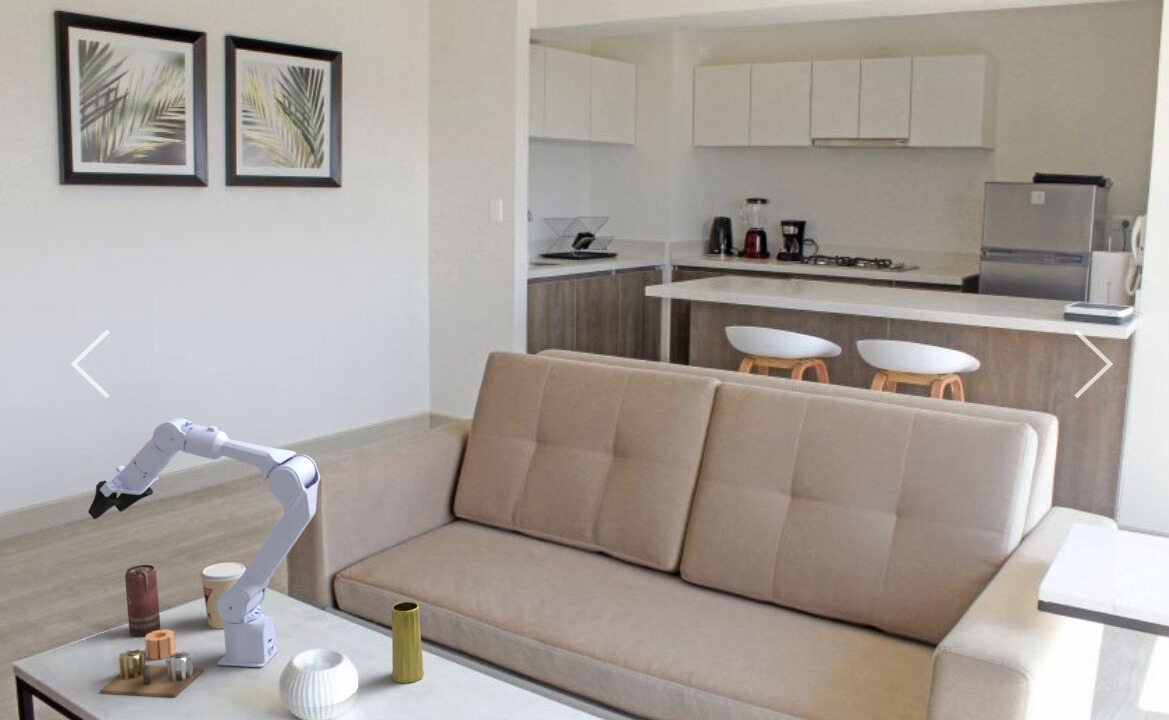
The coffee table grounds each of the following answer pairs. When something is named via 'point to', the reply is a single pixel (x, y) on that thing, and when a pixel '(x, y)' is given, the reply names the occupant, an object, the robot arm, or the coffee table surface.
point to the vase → (406, 643)
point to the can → (142, 600)
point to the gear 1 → (131, 664)
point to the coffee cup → (219, 587)
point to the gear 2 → (179, 666)
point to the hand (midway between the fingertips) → (105, 511)
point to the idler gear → (160, 644)
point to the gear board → (150, 683)
